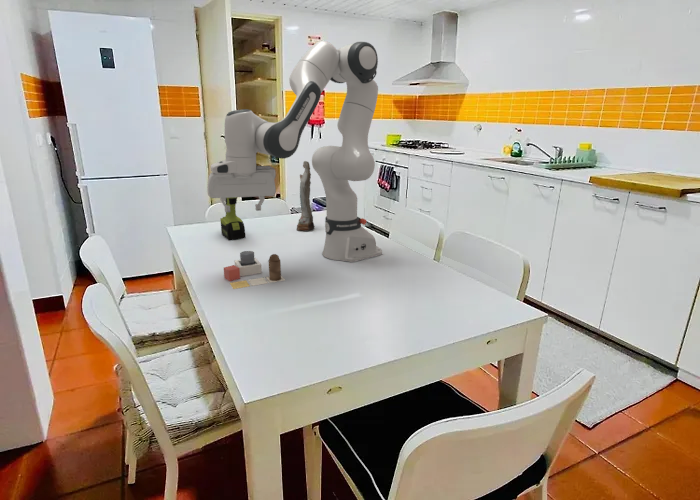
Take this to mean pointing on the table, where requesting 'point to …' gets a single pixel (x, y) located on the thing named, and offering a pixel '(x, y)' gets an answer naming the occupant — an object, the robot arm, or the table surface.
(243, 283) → the board
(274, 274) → the pawn
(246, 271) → the housing
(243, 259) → the dome
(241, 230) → the cordless drill
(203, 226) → the table surface
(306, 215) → the statue
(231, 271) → the red cube
